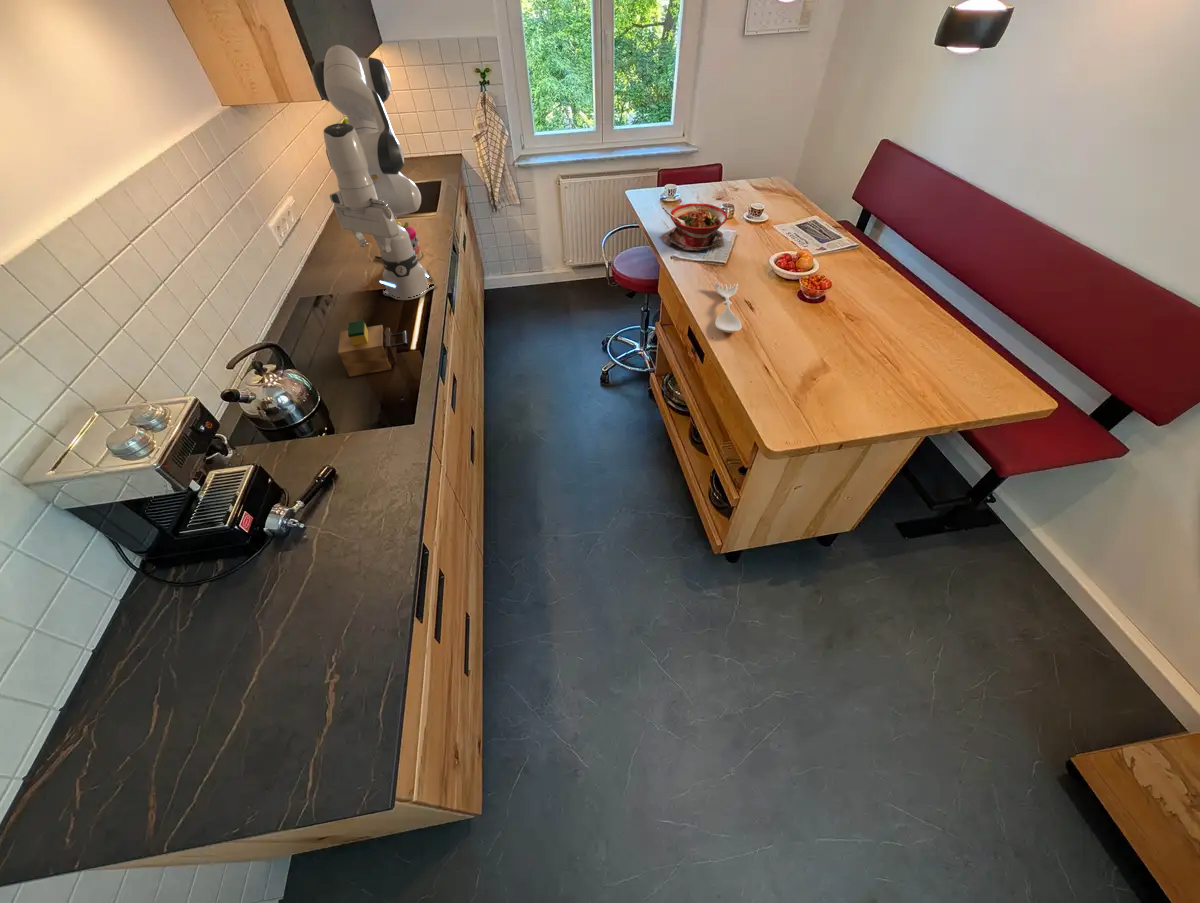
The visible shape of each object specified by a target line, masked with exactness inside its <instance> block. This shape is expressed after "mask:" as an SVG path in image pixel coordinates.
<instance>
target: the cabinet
mask: <svg viewBox="0 0 1200 903" xmlns="http://www.w3.org/2000/svg"><path fill="white" fill-rule="evenodd" d="M366 327H367V329H368V343H365V344H359V345H352V343H351V340H350V338H349V336H348V329H347V330H341V331H340V332H339V340H338V348H337V354H338V356H339V359H340V360H341V362H342V364H343V366H344V368H345V370H346V373H347V375H348V377H349V378H351V377H356V376H362V375H366V374H367V375H368V374H373V373H378V372H385V371H390V370H392V362H391V359H390V356H389V354H388V358H387V356H386V353H385V351H384V348H383V336H384V338H385V341H386V331H385V329H384V327H383V324H379V325H372V326H366Z"/></svg>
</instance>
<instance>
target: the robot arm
mask: <svg viewBox="0 0 1200 903" xmlns="http://www.w3.org/2000/svg"><path fill="white" fill-rule="evenodd" d="M311 72H312V74H311V75H312V82H313V85H314V87H315V89H316V90H317V92H318V94H319V96H320V97H321V98H322V99H324V100H325V101H326V102H330V104H331V105H332V106H333V107H334V109H335V110H336V111H338V112H339V113H341V114H342V115H344V116H346V118H347V123H344V122H343V123H342V122H340V123H333V124H330V125H327V126H326V127H325V128H324V129H323V132H322V133H323V138H324V139H323V140H324V145H325V154H326V157H327V160H328V162H329V163H328V164H329V166H330V168H331V170H332V171H333V173H334V174H335V176H336V181H337V184H336V185H337V187H338V191H335V192H333V193H330V194H329V199H330V201H331V203H332V204H333V210H334V212H335V216H336V218H337V220H338V223H339V225H340V226H341V228H342V229H343V230H348V231H351V232H352V235H353V236H354V237H355V239H356V240H357V241H358V244H359V246H360V247H363V248H366V247H368V246H369V243H368V240H367V238H365V237H364V235H363V234H365V235H372V236H373V238H374V240H375V242H376V245H377V247H378V249H379V252H380V255H381V256H379V255H378V256H377V255H375V256H374V258H375V259H378V260H381V263H382V265H383V268H384V270H383V271H382V278H383V280H379V283H380V284H383V285H385V286H386V288H387V289H386V290H385V291H384V290H382V294H383V296H386V297H391V298H392V299H394V300H398V301H410V300H414V299H418V298H421V297H423V296H424V295H426V294H427V293H428V292H429V291H431V290H433V289H434V288H435V285H434V286H432V287H430V288H429V285H430V284H432V283H428V282H427V278H429V277H430V276H429V273H428V271H427V270H426V269H425V268H424V267H423V266H422V264H421V263H420V261H419V260H417V256H416V254H415V252H414V251H413V248H412V244H411V241H410V237H409V234H408V232H407V231H406V230H405V229H404V228H403V227H402V226H400V225H398V224H397V223H396V222H397V220H396V218H395V217H397V216H398V217H399V216H406V215H409V214H412V213H415V212H417V211H418V210H419V209H420V207H421V204H422V194H421V192H420V190H419V187H418V186H417V184H416V183H415V182H414V181H413V180H411V179H410V178H408V177H406V176H405V175H404V174H402V172H401V171H402V169H403V168H404V167H405V156H404V151H403V148H402V146H401V144H400V142H399V140H398V139H397V137H396V134H395V132H394V128H393V126H392V124H391V121H390V119H389V116H388V112H387V111H386V108H385V106H384V105H385V104H384V103H385V102H386V101H387V100H389V97H390V95H391V89H392V80H391V75H390V73H389V71H388V69H387V68H386V66H385V64H384V63H383V61H382V60H381V59H379V58H376V57H370V56H369V57H367V58H366V57H358V55H357V54H356V52H354V50H352V49H351V48H349V47H347V46H346V45H342V44H335V45H332V46H331V47H329V48H328V49H327V51H326V54H325V57H324V59H320V60H317V61H315V62H314V63H313V65H312V67H311ZM375 175H376V176H377V179H372V176H375ZM426 277H427V278H426ZM428 284H429V285H428ZM427 288H428V289H427ZM426 289H427V290H426ZM425 290H426V291H425ZM424 291H425V292H424ZM422 292H423V293H422ZM385 293H386V294H385ZM421 293H422V294H421ZM419 294H420V295H419ZM392 295H393V296H392ZM416 295H418V296H416ZM394 296H395V297H394ZM413 296H415V297H413ZM397 297H400V298H397ZM408 297H411V298H408Z"/></svg>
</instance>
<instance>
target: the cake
mask: <svg viewBox="0 0 1200 903" xmlns="http://www.w3.org/2000/svg"><path fill="white" fill-rule="evenodd" d="M396 223H397V224H398V225H400V226H402V227H403V228H404V229H405V230H406V231H407V232H408V234H409V237H410V241H411V244H412V248H413V251H414V252H415V254H416V256H417V260H418V261H419V260H420V259H421V258H422V251H421V245H420V243H419V239H418V237H417V232H416V229H415V228H414V227H412V226H410V224H409V221H405V222H404V224H402V223H401V222H400V221H396Z"/></svg>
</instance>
